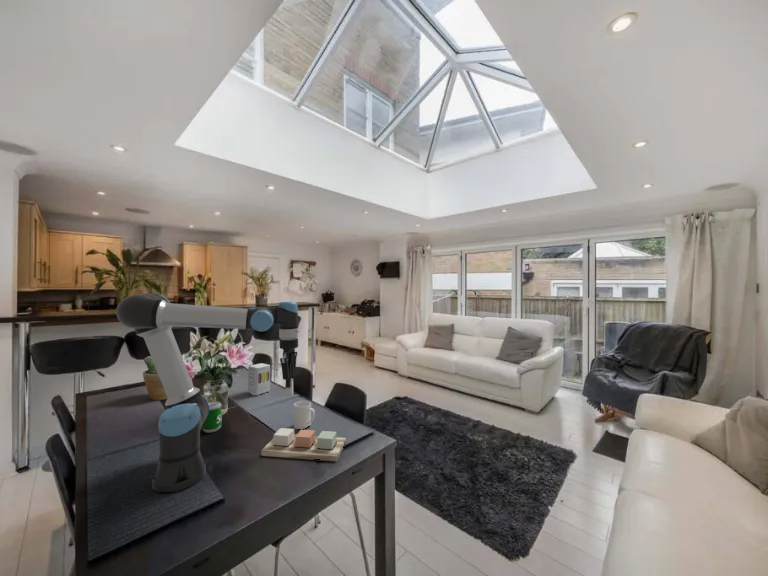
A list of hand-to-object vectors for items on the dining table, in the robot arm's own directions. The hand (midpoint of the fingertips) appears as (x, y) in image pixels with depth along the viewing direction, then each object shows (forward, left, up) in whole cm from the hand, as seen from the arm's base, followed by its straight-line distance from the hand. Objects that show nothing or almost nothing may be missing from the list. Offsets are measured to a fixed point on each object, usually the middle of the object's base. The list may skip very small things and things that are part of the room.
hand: (289, 394), depth 130 cm
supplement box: (+53, +43, -20) cm, 72 cm away
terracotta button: (-5, -9, -18) cm, 20 cm away
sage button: (-5, -18, -18) cm, 26 cm away
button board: (-5, -9, -20) cm, 22 cm away
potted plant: (+39, +95, -20) cm, 105 cm away
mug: (+13, -2, -20) cm, 24 cm away
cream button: (-5, 0, -18) cm, 18 cm away
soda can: (+5, +39, -20) cm, 44 cm away
